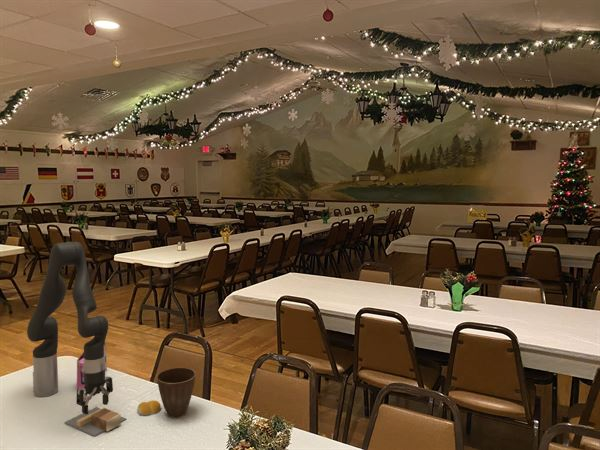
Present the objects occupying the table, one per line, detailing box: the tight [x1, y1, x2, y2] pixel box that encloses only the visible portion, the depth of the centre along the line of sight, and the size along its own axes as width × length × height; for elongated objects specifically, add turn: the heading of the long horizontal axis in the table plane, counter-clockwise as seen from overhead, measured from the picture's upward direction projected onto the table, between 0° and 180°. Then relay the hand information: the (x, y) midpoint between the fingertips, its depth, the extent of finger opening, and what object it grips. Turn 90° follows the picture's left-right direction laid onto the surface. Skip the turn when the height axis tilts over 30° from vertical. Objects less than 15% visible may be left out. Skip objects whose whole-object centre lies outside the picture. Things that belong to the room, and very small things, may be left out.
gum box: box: [76, 342, 108, 390], centre depth 213 cm, size 24×8×14 cm, turn 11°
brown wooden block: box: [91, 407, 122, 432], centre depth 173 cm, size 4×6×9 cm
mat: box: [63, 406, 127, 438], centre depth 176 cm, size 18×14×2 cm
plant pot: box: [156, 367, 196, 418], centre depth 183 cm, size 15×15×16 cm
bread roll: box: [136, 400, 162, 416], centre depth 185 cm, size 8×9×4 cm
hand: (95, 409), depth 176 cm, fingers open, 8 cm apart
